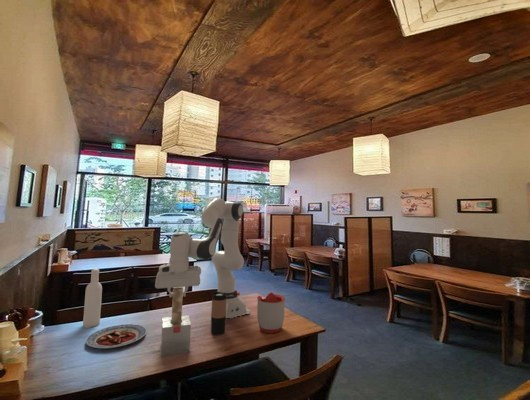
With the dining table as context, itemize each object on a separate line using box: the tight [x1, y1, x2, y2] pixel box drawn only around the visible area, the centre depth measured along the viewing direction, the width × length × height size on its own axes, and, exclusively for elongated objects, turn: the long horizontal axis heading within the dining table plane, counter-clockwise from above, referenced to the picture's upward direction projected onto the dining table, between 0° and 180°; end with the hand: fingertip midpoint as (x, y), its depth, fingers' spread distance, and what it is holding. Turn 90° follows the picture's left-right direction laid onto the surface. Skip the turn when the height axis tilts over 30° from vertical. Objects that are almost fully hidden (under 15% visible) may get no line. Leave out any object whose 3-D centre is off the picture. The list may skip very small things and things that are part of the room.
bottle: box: [82, 268, 103, 329], centre depth 144 cm, size 8×8×30 cm
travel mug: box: [210, 291, 227, 336], centre depth 138 cm, size 8×8×20 cm
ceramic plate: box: [85, 323, 147, 349], centre depth 128 cm, size 26×26×3 cm
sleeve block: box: [160, 314, 192, 357], centre depth 121 cm, size 12×13×12 cm
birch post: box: [171, 287, 184, 324], centre depth 122 cm, size 4×4×20 cm
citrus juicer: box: [256, 291, 286, 334], centre depth 145 cm, size 16×17×20 cm
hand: (177, 296), depth 122 cm, fingers closed on birch post, 4 cm apart
